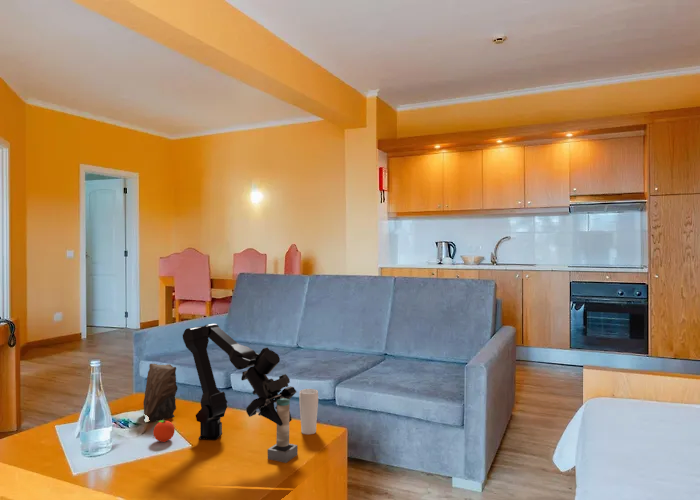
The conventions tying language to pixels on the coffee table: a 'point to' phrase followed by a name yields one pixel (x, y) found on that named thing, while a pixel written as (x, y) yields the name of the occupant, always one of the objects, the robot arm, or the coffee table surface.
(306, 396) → the drinking glass
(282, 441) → the ivory peg
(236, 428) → the coffee table surface
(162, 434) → the tomato
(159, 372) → the brown tree stump
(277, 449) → the charcoal holder block
